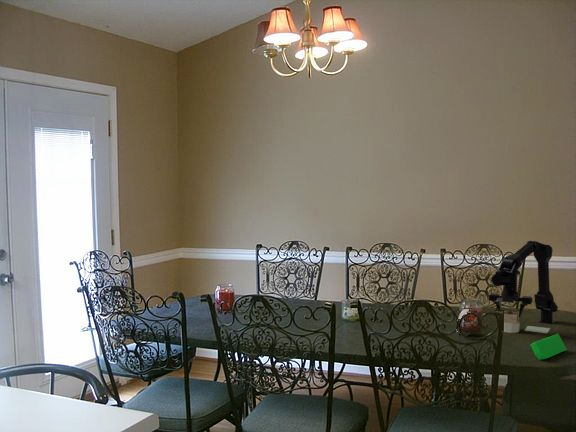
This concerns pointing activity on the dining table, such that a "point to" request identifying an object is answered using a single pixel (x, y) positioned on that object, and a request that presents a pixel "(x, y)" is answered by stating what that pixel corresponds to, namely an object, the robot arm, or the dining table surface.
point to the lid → (511, 317)
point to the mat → (537, 329)
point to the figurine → (463, 313)
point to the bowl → (511, 327)
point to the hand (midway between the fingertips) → (510, 316)
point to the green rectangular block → (548, 347)
